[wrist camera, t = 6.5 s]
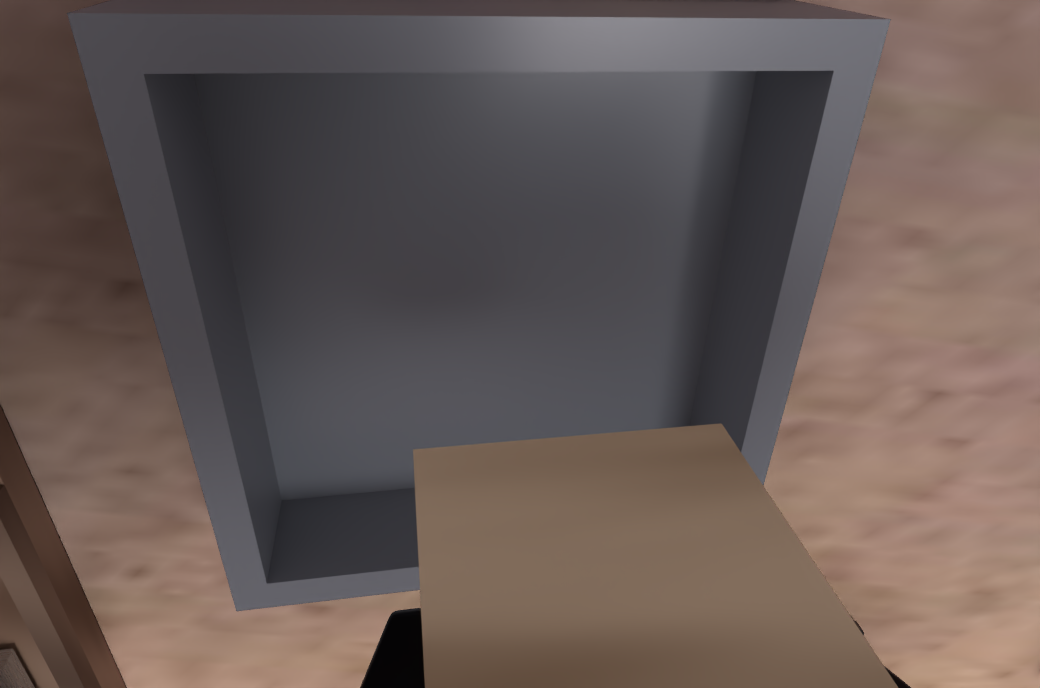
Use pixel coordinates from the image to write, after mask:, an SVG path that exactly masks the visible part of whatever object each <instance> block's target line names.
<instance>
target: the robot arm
mask: <svg viewBox="0 0 1040 688" xmlns="http://www.w3.org/2000/svg"><path fill="white" fill-rule="evenodd" d="M853 621H854V620H853ZM854 622H855V624H856V625H857V627H858V628H859V630H860V631H861V633H862V634H863V635H864V632H863V630H862V629H861V627H860V626H859V624H858V623H857V622H856V621H854ZM883 666H884V665H883ZM884 667H885V666H884ZM885 669H886V670H887V672H888V673H889V675H890V676H891V678H892V679H893V681H894V682H895V683H896V685H897V686H898V688H911V687H910V686H908V685H907V684H906V683H905V682H904V681H902V680H901V679H900V678H899V677H897V676H896V675H895V674H894V673H892V672H891V671H890V670H889V669H887V668H886V667H885ZM360 688H425V678H424V658H423V639H422V619H421V608H415V609H407V610H398V611H395V612H393V613H392V614H391V615H390V617H389V619H388V621H387V624H386V626H385V628H384V631H383V633H382V636H381V638H380V641H379V643H378V645H377V648H376V650H375V653H374V655H373V658H372V660H371V663H370V665H369V667H368V670H367V672H366V675H365V677H364V680H363V682H362V684H361V687H360Z"/></svg>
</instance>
